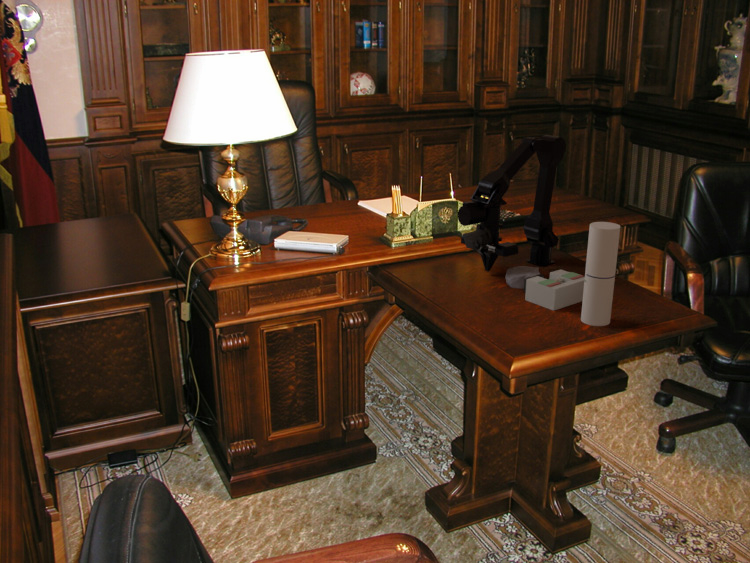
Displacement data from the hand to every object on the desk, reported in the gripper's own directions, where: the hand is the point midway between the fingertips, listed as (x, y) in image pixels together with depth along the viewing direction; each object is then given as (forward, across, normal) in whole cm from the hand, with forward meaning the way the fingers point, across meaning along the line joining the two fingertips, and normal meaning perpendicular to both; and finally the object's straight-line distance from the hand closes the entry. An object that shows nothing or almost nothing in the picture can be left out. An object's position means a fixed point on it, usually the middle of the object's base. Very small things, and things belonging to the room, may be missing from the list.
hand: (487, 271), depth 221 cm
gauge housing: (+1, +26, 0) cm, 26 cm away
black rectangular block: (+1, +22, 0) cm, 22 cm away
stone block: (+2, +10, +4) cm, 11 cm away
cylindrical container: (+1, +42, -4) cm, 43 cm away
